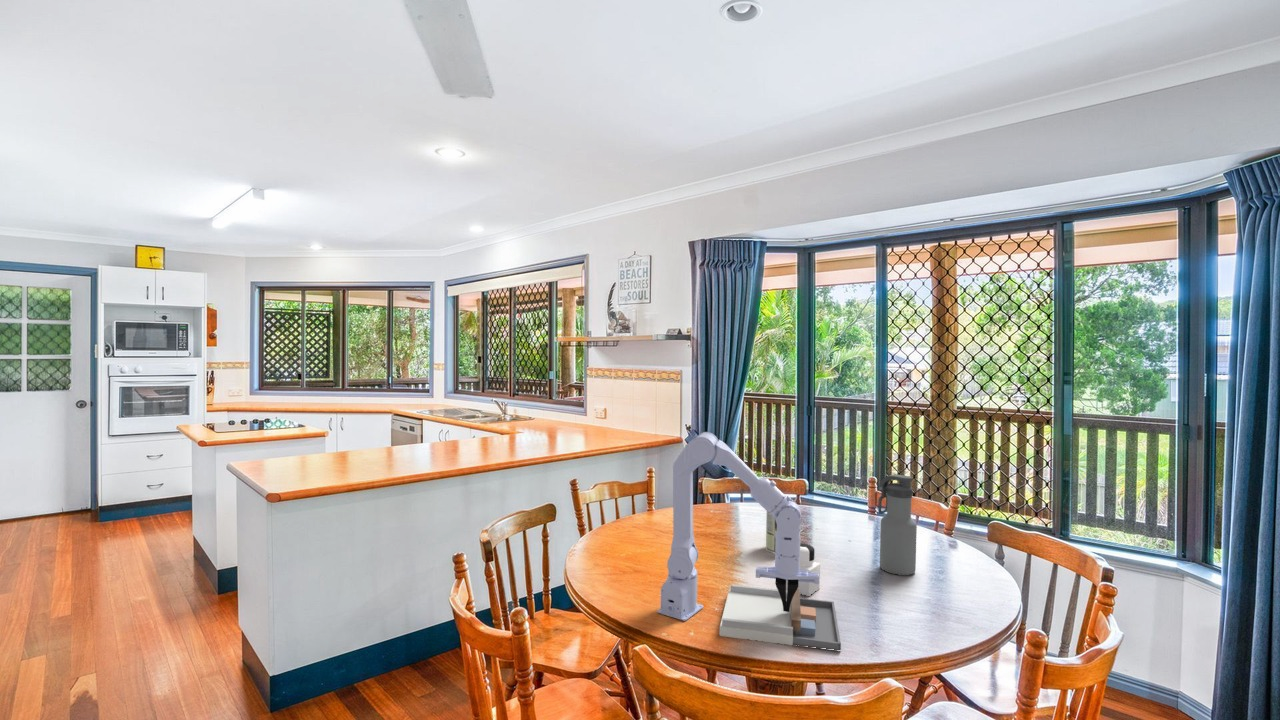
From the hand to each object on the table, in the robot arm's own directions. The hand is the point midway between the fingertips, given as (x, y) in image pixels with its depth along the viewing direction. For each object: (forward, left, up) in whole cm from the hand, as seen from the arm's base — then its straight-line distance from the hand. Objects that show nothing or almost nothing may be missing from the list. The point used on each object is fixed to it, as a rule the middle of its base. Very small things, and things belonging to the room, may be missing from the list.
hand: (786, 609), depth 142 cm
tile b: (-2, -5, -3) cm, 6 cm away
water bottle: (+52, -14, -3) cm, 55 cm away
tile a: (+5, -3, -3) cm, 6 cm away
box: (+2, -6, -3) cm, 7 cm away
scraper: (+1, -2, -1) cm, 2 cm away
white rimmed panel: (-2, +6, -3) cm, 7 cm away
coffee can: (+48, +20, -3) cm, 52 cm away
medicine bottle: (+21, +4, -3) cm, 22 cm away
